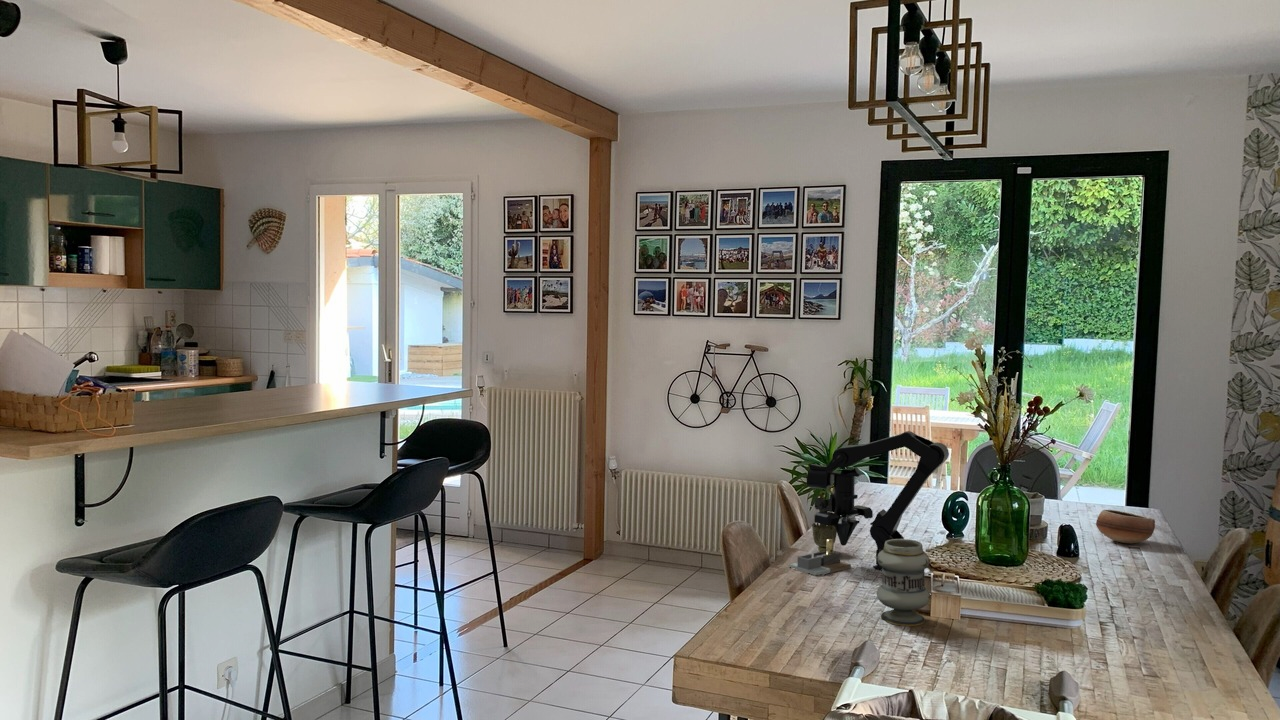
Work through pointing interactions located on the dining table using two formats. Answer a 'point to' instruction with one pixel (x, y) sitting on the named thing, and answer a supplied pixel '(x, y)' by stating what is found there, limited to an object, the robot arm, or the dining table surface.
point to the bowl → (1125, 526)
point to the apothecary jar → (903, 581)
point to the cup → (823, 535)
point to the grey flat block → (833, 562)
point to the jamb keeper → (810, 565)
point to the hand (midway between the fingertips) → (843, 545)
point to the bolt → (827, 549)
